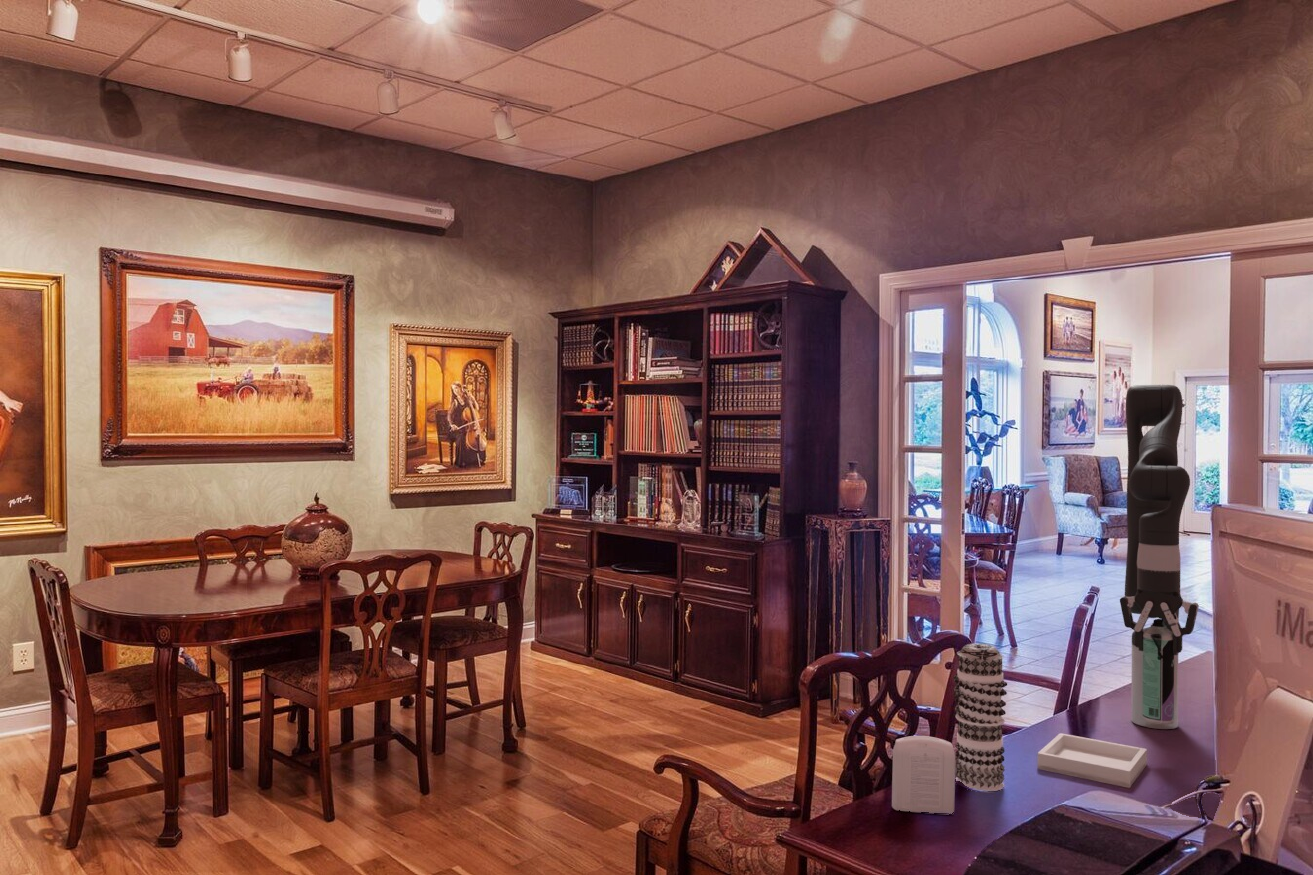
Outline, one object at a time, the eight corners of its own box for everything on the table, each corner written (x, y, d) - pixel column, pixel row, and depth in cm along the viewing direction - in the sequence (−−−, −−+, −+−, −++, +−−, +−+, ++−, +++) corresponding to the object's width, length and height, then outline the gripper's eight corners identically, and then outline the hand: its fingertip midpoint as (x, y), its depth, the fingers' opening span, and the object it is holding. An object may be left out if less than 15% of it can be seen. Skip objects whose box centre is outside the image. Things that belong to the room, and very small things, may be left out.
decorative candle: (980, 796, 166) (981, 653, 166) (942, 779, 174) (943, 643, 175) (1017, 788, 170) (1018, 648, 171) (978, 772, 179) (979, 639, 179)
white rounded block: (952, 807, 161) (953, 734, 161) (956, 817, 157) (957, 742, 157) (890, 803, 163) (891, 731, 163) (893, 812, 159) (893, 738, 159)
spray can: (1177, 725, 184) (1178, 622, 184) (1147, 723, 185) (1147, 621, 185) (1168, 717, 189) (1169, 617, 189) (1138, 715, 191) (1139, 615, 190)
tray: (1060, 747, 193) (1060, 733, 193) (1146, 764, 184) (1147, 748, 184) (1037, 768, 181) (1037, 752, 181) (1129, 787, 171) (1129, 771, 171)
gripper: (1203, 567, 186) (1202, 654, 186) (1123, 561, 194) (1122, 644, 195) (1197, 572, 180) (1196, 661, 180) (1114, 565, 188) (1114, 650, 189)
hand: (1158, 651), depth 187 cm, fingers closed on spray can, 5 cm apart
